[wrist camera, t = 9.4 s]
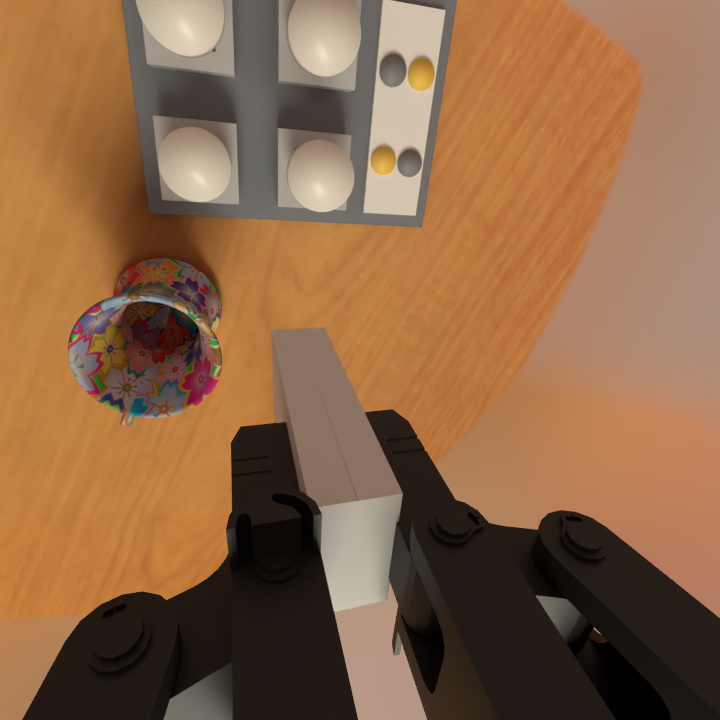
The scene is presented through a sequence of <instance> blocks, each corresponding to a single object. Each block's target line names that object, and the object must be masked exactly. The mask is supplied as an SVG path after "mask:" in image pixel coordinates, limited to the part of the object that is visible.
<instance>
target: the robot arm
mask: <svg viewBox="0 0 720 720" xmlns="http://www.w3.org/2000/svg"><path fill="white" fill-rule="evenodd" d="M271 331H272V359H273V387H274V412H275V418H276V423H272V424H263V425H253V426H244V427H240V429H239V430H238V432H237V434H236V435H235V437H234V439H233V440H232V442H231V462H232V464H231V467H232V513H231V514H230V516H229V520H228V524H227V528H226V534H227V542H228V551H229V553H228V555H227V558H226V559H225V560H224V562H223V563H222V565H221V566H220V567H219V569H218V570H216V571H215V572H214V573H213V574H212V575H211V576H210V577H209V578H207V579H206V580H204V581H203V582H201V583H199V584H198V585H196V586H194V587H193V588H191V589H189V590H187V591H184V592H182V593H180V594H178V595H176V596H174V597H172V598H170V599H168V600H165V599H164V598H163V597H162V596H161V595H157V594H152V593H147V592H137V593H130V594H124V595H120V596H118V597H116V598H114V599H112V600H110V601H108V602H105V603H103V604H101V605H100V606H98V607H97V608H96V609H95V610H93V611H92V612H91V613H90V614H88V615H87V616H86V617H85V618H84V619H82V620H81V621H80V622H79V624H78V625H77V626H76V628H75V629H74V630H73V632H72V633H71V634H70V636H69V637H68V638H67V640H66V641H65V643H64V645H63V647H62V649H61V650H60V652H59V654H58V656H57V657H56V659H55V661H54V663H53V665H52V666H51V668H50V670H49V672H48V674H47V676H46V677H45V679H44V681H43V683H42V685H41V687H40V688H39V690H38V692H37V694H36V696H35V698H34V700H33V701H32V703H31V705H30V707H29V709H28V710H27V712H26V714H25V716H24V718H23V720H358V718H357V713H356V708H355V704H354V700H353V695H352V690H351V686H350V682H349V677H348V672H347V668H346V664H345V659H344V655H343V650H342V646H341V642H340V637H339V632H338V628H337V623H336V619H335V614H334V612H335V611H340V610H344V609H349V608H354V607H358V606H363V605H367V604H372V603H376V602H380V601H385V600H387V599H388V591H389V584H390V583H391V586H392V589H393V591H394V594H395V597H396V600H397V602H398V610H397V616H396V622H395V628H394V634H393V639H392V646H393V654H394V656H395V655H398V654H400V648H401V643H402V645H403V648H404V651H405V654H406V657H407V660H408V663H409V666H410V669H411V672H412V675H413V678H414V681H415V684H416V687H417V690H418V693H419V696H420V699H421V702H422V705H423V708H424V711H425V714H426V717H427V720H720V618H719V617H717V616H716V615H715V614H714V613H713V612H711V611H710V610H709V609H708V608H706V607H705V606H704V605H703V604H701V603H700V602H699V601H698V600H696V599H695V598H694V597H693V596H691V595H690V594H689V593H688V592H686V591H685V590H684V589H683V588H681V587H680V586H679V585H678V584H676V583H675V582H674V581H673V580H671V579H670V578H669V577H668V576H666V575H665V574H664V573H663V572H661V571H660V570H659V569H658V568H656V567H655V566H654V565H652V563H650V562H649V561H648V560H647V559H645V558H644V557H643V556H642V555H640V554H639V553H638V552H637V551H635V550H634V549H633V548H631V547H630V546H629V545H628V544H627V543H625V542H624V541H623V540H622V539H620V538H619V537H618V536H617V535H615V534H614V533H613V532H612V531H610V530H609V529H608V528H607V527H605V526H603V525H602V524H600V523H599V522H597V521H596V520H594V519H593V518H591V517H588V516H585V515H582V514H580V513H577V512H571V511H562V510H561V511H556V512H552V513H549V514H547V515H546V516H545V517H544V518H543V519H542V520H541V522H540V525H539V527H538V530H534V529H525V528H516V527H507V526H500V525H495V524H491V523H488V521H487V520H486V519H485V518H484V517H483V516H482V515H481V514H480V513H479V511H478V510H476V509H474V508H473V507H471V506H469V505H468V504H466V503H464V502H460V501H457V500H456V499H455V498H454V496H453V495H452V493H451V492H450V490H449V488H448V487H447V485H446V483H445V482H444V480H443V478H442V477H441V475H440V473H439V472H438V470H437V468H436V467H435V465H434V463H433V462H432V460H431V458H430V457H429V455H428V453H427V452H426V451H425V450H424V447H423V445H422V443H421V442H420V440H419V439H417V435H416V433H415V432H414V430H413V428H412V427H411V425H410V423H409V422H408V421H407V420H406V419H405V418H403V417H402V416H401V415H399V414H398V413H397V412H395V411H394V410H393V409H392V410H382V411H373V412H364V410H363V408H362V406H361V404H360V402H359V400H358V397H357V395H356V393H355V391H354V389H353V387H352V385H351V383H350V381H349V378H348V376H347V374H346V372H345V370H344V368H343V366H342V364H341V361H340V359H339V357H338V355H337V353H336V351H335V349H334V347H333V345H332V342H331V340H330V338H329V336H328V334H327V332H326V330H325V328H305V329H285V330H271ZM594 627H595V628H596V629H597V630H598V631H599V632H600V633H601V634H602V635H601V634H599V633H598V632H596V631H595V630H594V629H593V628H594Z"/></svg>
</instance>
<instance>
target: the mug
mask: <svg viewBox="0 0 720 720" xmlns="http://www.w3.org/2000/svg"><path fill="white" fill-rule="evenodd" d="M220 318H221V301H220V298H219V294H218V292H217V290H216V288H215V286H214V285H213V283H212V282H211V281H210V280H209V278H208V277H207V276H206V275H205V274H204V273H202V272H201V271H200V270H198V269H197V268H195V267H194V266H192V265H190V264H188V263H186V262H183V261H180V260H176V259H170V258H154V259H148V260H145V261H142V262H139V263H137V264H135V265H133V266H132V267H130V268H129V269H128V270H127V271H125V272H124V273H123V275H122V276H121V277H120V279H119V280H118V282H117V284H116V287H115V290H114V294H113V297H110V298H107V299H105V300H102V301H100V302H98V303H97V304H95V305H93V306H92V307H91V308H89V309H88V310H87V311H86V312H85V313H84V314H83V315H82V316H81V317H80V318H79V319H78V321H77V322H76V324H75V325H74V327H73V329H72V332H71V335H70V338H69V343H68V356H69V362H70V365H71V369H72V371H73V373H74V375H75V377H76V379H77V381H78V382H79V383H80V385H81V386H82V387H83V388H84V389H85V391H86V392H87V393H88V394H90V395H91V396H92V397H93V398H94V399H96V400H97V401H98V402H100V403H101V404H103V405H105V406H107V407H108V408H111V409H113V410H115V411H118V412H120V413H123V416H122V419H121V423H120V424H121V425H122V426H126V427H129V426H131V424H132V421H133V418H134V416H136V417H145V418H159V417H167V416H172V415H176V414H179V413H182V412H185V411H187V410H189V409H191V408H193V407H194V406H196V405H198V404H199V403H200V402H202V401H203V400H204V399H205V398H206V397H207V396H208V395H209V394H210V393H211V391H212V390H213V388H214V387H215V385H216V383H217V381H218V379H219V376H220V373H221V367H222V354H221V349H220V345H219V342H218V339H217V337H216V335H215V333H214V332H215V331H216V329H217V327H218V325H219V322H220Z"/></svg>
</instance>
